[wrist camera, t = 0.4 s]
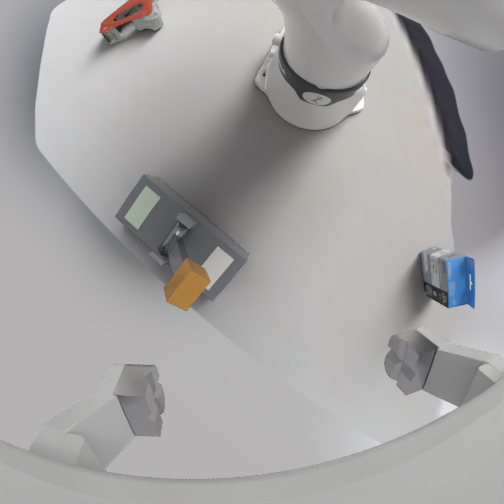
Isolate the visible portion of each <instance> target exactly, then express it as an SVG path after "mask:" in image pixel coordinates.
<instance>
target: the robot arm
mask: <svg viewBox="0 0 504 504" xmlns="http://www.w3.org/2000/svg"><path fill="white" fill-rule="evenodd" d="M272 1H273V2H274V3H275V4H276V5H277V6H278V8H279V9H280V10H281V12H282V14H283V16H284V24H285V26H284V27H283V29H282V30H281V32H280V34H279V33H276V34H275V36H274V39H273V42H272V44H273V46H272V48H271V50H270V52H269V53H268V55H267V57H266V59H265V61H264V63H263V64H262V66H261V68H260V70H259V72H258V74H257V76H256V78H255V84H256V85H257V86H258V87H259V88H260V89H261V90H262V91H263V92H264V93H265V94H266V95H267V96H268V98H269V100H270V103H271V105H272V106H273V108H274V109H275V111H276V112H277V113H278V114H279V115H280V116H281V117H282V118H283V119H284V120H286V121H287V122H289V123H291V124H292V125H295V126H297V127H300V128H303V129H309V130H322V129H327V128H330V127H332V126H334V125H336V124H338V123H339V122H340V121H342V120H343V119H344V118H345V117H346V116H348V115H350V114H354V113H357V112H360V111H361V110H362V109H363V107H364V99H363V96H364V95H365V94H366V92H367V88H366V87H365V83H366V81H367V79H368V77H369V75H370V72H371V70H372V69H373V67H374V66H375V65H376V64H377V63H378V62H379V60H380V59H381V58H382V57H383V56H384V54H385V53H386V51H387V48H388V44H389V31H388V27H387V25H386V22H385V20H384V19H383V17H382V15H381V13H380V12H379V10H378V9H377V7H376V6H375V5H378V6H381V7H383V8H386V9H388V10H391V11H393V12H396V13H398V14H400V15H403V16H405V17H407V18H409V19H411V20H414V21H416V22H418V23H420V24H422V25H424V26H426V27H428V28H430V29H432V30H433V31H435V32H437V33H440V34H442V35H445V36H447V37H450V38H452V39H455V40H457V41H460V42H462V43H464V44H467V45H469V46H472V47H474V48H477V49H479V50H481V51H484V52H498V51H502V50H504V0H272ZM374 4H375V5H374ZM263 74H266V76H263ZM388 346H389V348H390V351H389V352H388V353H387V355H386V357H385V362H384V364H385V370H386V373H387V375H388V376H389V377H390V378H391V379H394V380H397V386H398V387H399V389H400V390H401V391H402V392H403V393H404V394H405V395H408V394H411V393H414V392H417V391H419V390H422V389H423V390H424V391H426V392H428V393H430V394H432V395H434V396H436V397H439V398H441V399H443V400H445V401H447V402H449V403H452V404H454V405H456V406H458V408H457V409H455V410H453V411H451V412H450V413H448V414H446V415H444V416H442V417H440V418H439V419H437V420H435V421H433V422H431V423H429V424H427V425H425V426H423V427H421V428H419V429H416V430H414V431H412V432H410V433H408V434H405V435H403V436H401V437H399V438H396V439H394V440H391V441H389V442H386V443H384V444H381V445H379V446H376V447H373V448H371V449H367V450H364V451H362V452H359V453H355V454H352V455H349V456H346V457H342V458H339V459H336V460H332V461H328V462H324V463H320V464H316V465H312V466H307V467H303V468H298V469H293V470H288V471H282V472H275V473H269V474H262V475H255V476H244V477H233V478H217V479H167V478H152V477H141V476H132V475H124V474H117V473H111V472H107V471H106V470H105V468H106V467H107V466H108V465H109V464H110V463H111V462H112V461H113V460H114V459H115V458H116V457H117V456H118V455H119V454H120V452H121V451H122V450H123V449H124V448H125V447H126V446H127V445H128V444H129V443H130V442H131V441H132V440H133V439H134V438H135V436H160V435H161V429H162V419H161V416H160V415H161V414H162V413H163V412H164V408H165V399H164V398H165V397H164V392H163V388H162V385H161V384H159V383H158V378H159V373H158V370H157V367H156V366H155V365H133V364H112V365H110V367H109V369H108V371H107V373H106V375H105V377H104V379H103V381H102V384H101V386H100V388H99V390H98V392H97V394H91V395H90V396H88V397H86V398H85V399H83V400H82V401H80V402H78V403H77V404H75V405H74V406H72V407H70V408H69V409H67V410H65V411H64V412H62V413H61V414H59V415H57V416H56V417H54V418H53V419H51V420H49V421H47V422H46V423H44V424H43V425H41V427H40V429H39V431H38V433H37V435H36V437H35V439H34V440H33V442H32V444H31V446H30V449H29V451H27V450H25V449H22V448H19V447H17V446H14V445H12V444H9V443H7V442H5V441H2V440H0V504H504V358H503V357H501V356H499V355H498V354H494V353H489V352H485V351H480V350H476V349H472V348H467V347H463V346H459V345H455V344H448V343H446V342H445V341H444V340H442V339H441V338H440V337H438V336H437V335H436V334H434V333H433V332H432V331H430V330H429V329H428V328H426V327H420V328H416V329H413V330H411V331H408V332H404V333H401V334H397V335H393V336H392V337H391V338H390V340H389V344H388Z"/></svg>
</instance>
